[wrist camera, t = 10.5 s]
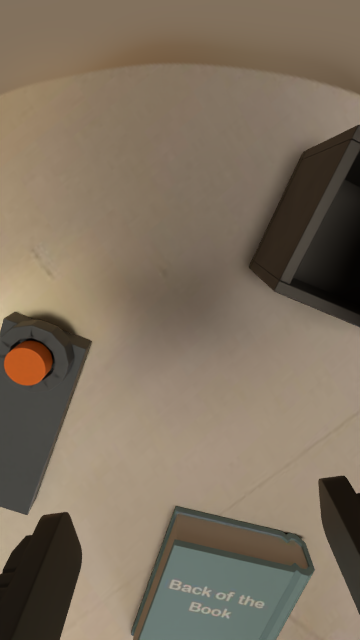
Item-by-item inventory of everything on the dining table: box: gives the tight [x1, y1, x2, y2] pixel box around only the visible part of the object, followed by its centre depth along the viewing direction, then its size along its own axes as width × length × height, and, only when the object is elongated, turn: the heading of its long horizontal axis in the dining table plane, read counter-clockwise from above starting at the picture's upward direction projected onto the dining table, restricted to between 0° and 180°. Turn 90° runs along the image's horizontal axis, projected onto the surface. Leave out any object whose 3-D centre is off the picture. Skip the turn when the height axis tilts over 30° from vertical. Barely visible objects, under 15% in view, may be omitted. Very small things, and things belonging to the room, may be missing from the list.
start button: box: [4, 341, 53, 385], centre depth 30 cm, size 4×4×2 cm
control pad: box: [0, 312, 92, 515], centre depth 35 cm, size 23×8×4 cm, turn 158°
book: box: [131, 506, 315, 640], centre depth 42 cm, size 23×16×5 cm
